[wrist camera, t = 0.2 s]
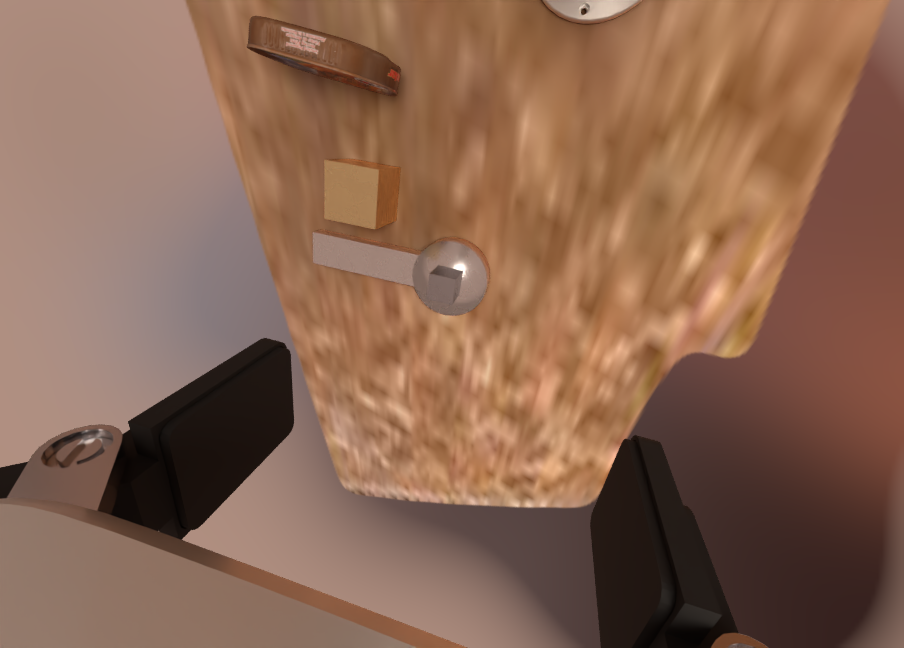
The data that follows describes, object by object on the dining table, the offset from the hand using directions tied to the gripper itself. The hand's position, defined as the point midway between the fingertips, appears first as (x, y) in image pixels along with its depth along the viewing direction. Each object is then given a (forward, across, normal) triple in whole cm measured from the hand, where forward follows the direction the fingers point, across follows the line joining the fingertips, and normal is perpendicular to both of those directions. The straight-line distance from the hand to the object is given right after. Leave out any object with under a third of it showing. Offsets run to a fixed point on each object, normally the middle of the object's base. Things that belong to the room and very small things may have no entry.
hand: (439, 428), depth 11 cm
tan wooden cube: (+36, +18, 0) cm, 41 cm away
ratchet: (+36, +14, +8) cm, 40 cm away
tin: (+36, +22, -12) cm, 44 cm away
